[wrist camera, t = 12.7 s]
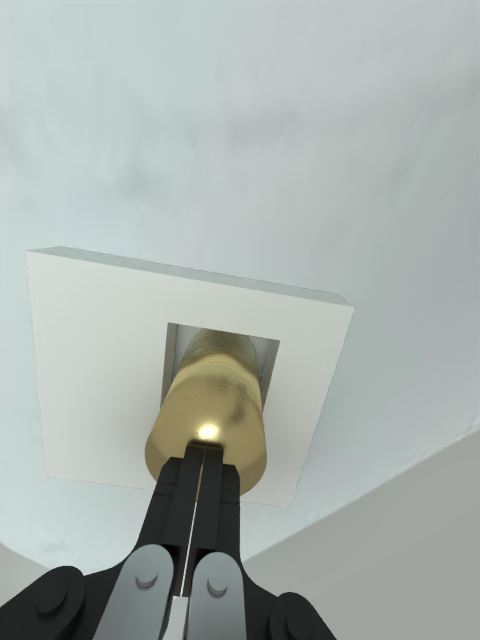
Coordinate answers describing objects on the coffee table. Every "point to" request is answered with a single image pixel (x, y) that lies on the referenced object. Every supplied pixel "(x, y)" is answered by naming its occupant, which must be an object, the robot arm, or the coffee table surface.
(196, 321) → the jig
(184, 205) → the coffee table surface
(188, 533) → the robot arm
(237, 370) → the gold metal peg
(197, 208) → the coffee table surface
